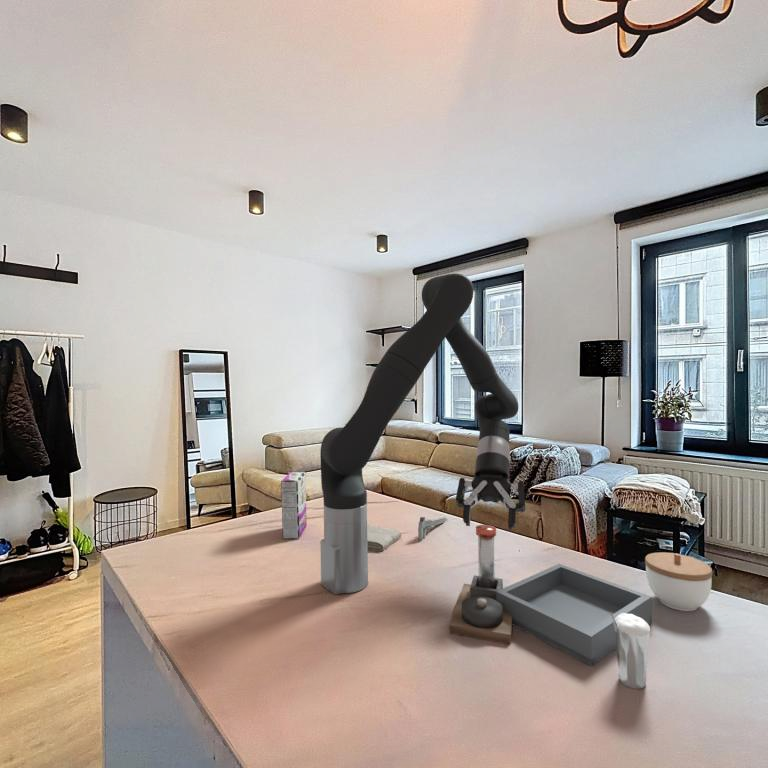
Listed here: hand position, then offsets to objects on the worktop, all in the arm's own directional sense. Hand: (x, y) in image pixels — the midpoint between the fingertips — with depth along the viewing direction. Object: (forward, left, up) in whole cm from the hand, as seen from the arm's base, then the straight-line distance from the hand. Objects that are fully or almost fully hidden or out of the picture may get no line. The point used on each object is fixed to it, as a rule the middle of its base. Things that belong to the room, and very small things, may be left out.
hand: (488, 526), depth 91 cm
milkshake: (-6, -30, -13) cm, 34 cm away
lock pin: (-5, -3, -12) cm, 13 cm away
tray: (+3, -16, -13) cm, 21 cm away
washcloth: (-4, +41, -14) cm, 43 cm away
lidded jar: (+24, -25, -14) cm, 38 cm away
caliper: (+17, +35, -14) cm, 41 cm away
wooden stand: (-8, -6, -13) cm, 16 cm away
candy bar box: (-17, +58, -13) cm, 62 cm away
